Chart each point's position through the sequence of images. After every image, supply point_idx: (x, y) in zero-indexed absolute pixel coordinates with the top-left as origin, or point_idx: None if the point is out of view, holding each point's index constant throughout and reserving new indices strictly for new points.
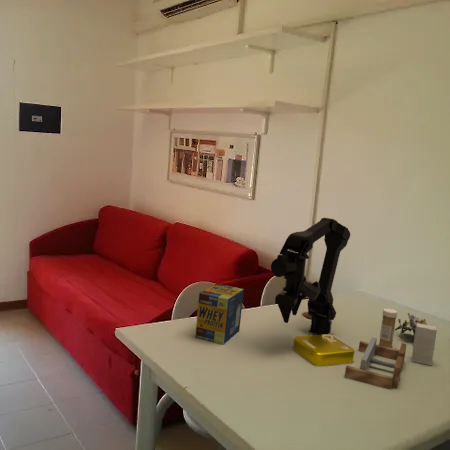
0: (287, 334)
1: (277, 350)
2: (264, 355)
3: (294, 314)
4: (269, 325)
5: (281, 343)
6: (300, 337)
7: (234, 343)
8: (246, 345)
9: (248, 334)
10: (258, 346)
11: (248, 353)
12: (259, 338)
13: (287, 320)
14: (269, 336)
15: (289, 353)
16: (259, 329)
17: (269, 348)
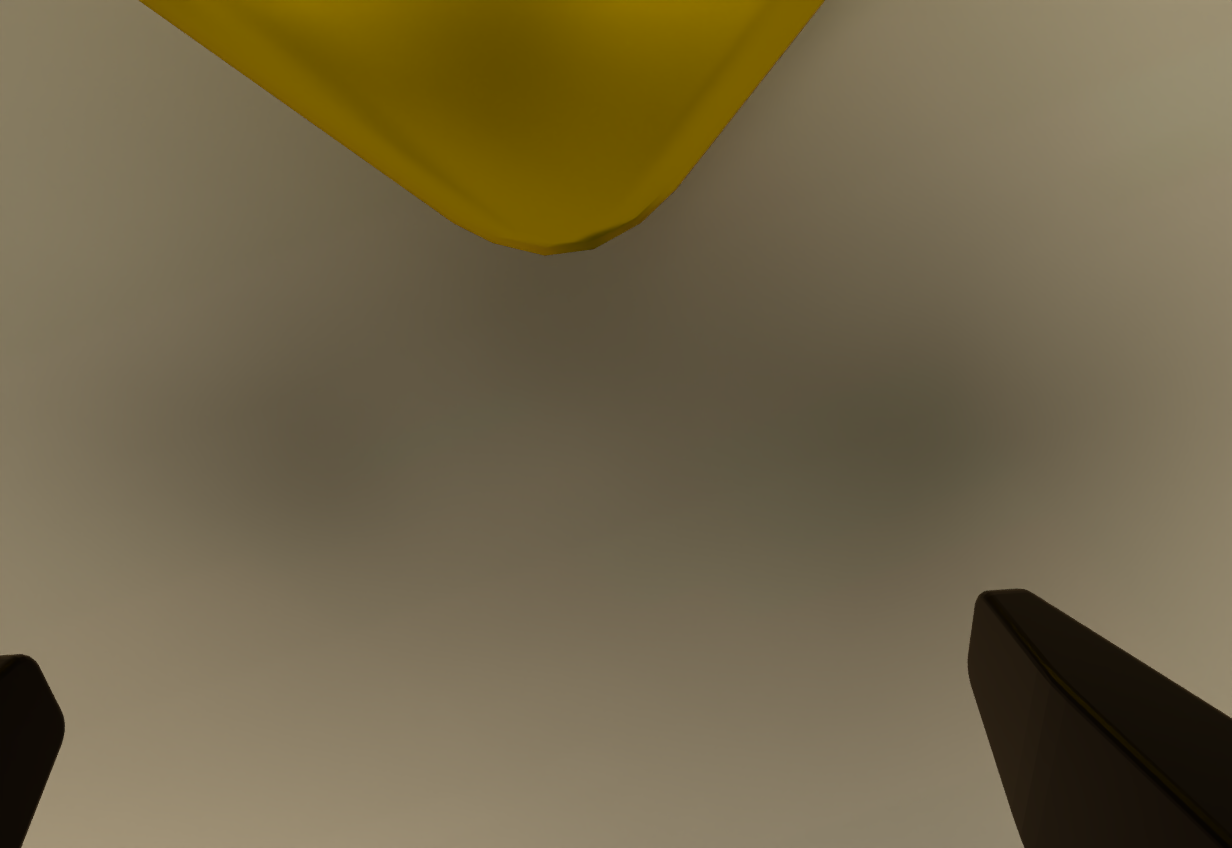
0: (79, 493)
1: (866, 359)
2: (1182, 431)
3: (31, 707)
4: None
5: (529, 421)
6: (508, 117)
7: (964, 830)
8: (944, 724)
9: (561, 834)
10: (883, 613)
11: (1211, 611)
12: (587, 705)
13: (1097, 655)
14: (405, 645)
15: (874, 145)
16: (280, 814)
17: (861, 479)
